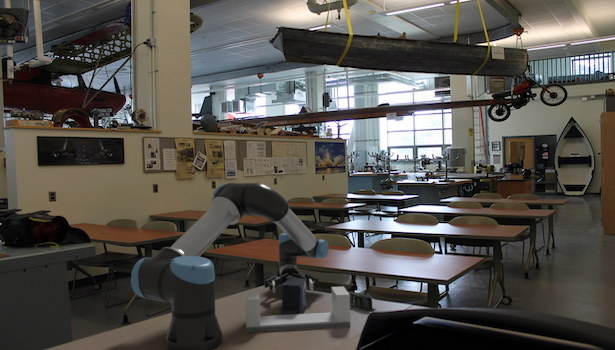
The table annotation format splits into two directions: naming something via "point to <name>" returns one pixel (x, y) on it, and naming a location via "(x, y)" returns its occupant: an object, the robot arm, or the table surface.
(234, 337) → the table surface
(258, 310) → the block
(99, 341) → the table surface
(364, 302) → the mobile phone
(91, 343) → the table surface
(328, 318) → the panel
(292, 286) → the small box
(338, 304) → the block
